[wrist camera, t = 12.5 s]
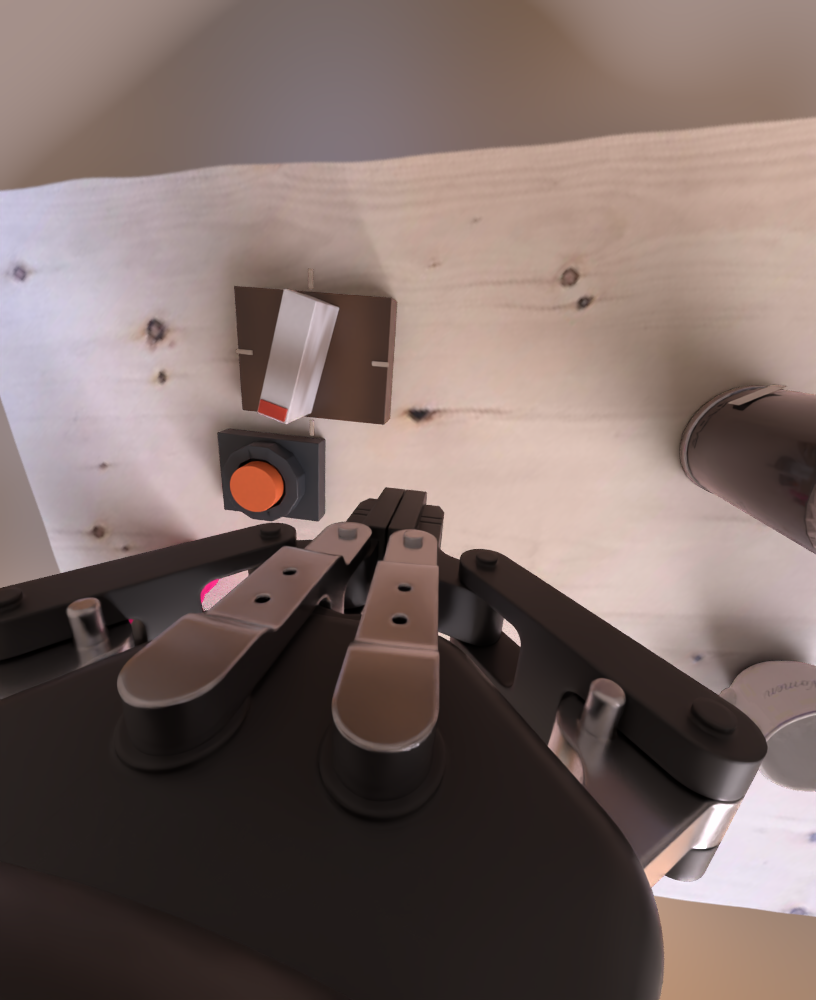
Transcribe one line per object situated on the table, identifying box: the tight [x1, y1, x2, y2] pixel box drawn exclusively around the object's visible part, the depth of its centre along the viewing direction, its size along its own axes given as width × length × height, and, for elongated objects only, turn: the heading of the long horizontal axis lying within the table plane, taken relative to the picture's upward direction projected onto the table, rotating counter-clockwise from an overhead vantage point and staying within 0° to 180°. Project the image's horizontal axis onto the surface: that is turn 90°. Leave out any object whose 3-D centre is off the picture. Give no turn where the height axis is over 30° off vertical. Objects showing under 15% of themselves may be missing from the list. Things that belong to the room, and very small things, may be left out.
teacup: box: [719, 661, 816, 792], centre depth 40 cm, size 14×11×8 cm
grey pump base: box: [217, 429, 325, 521], centre depth 40 cm, size 10×8×4 cm
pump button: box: [230, 461, 284, 512], centre depth 38 cm, size 4×4×2 cm
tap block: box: [234, 269, 397, 436], centre depth 36 cm, size 13×13×3 cm
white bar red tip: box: [257, 288, 339, 424], centre depth 32 cm, size 9×2×6 cm, turn 160°
